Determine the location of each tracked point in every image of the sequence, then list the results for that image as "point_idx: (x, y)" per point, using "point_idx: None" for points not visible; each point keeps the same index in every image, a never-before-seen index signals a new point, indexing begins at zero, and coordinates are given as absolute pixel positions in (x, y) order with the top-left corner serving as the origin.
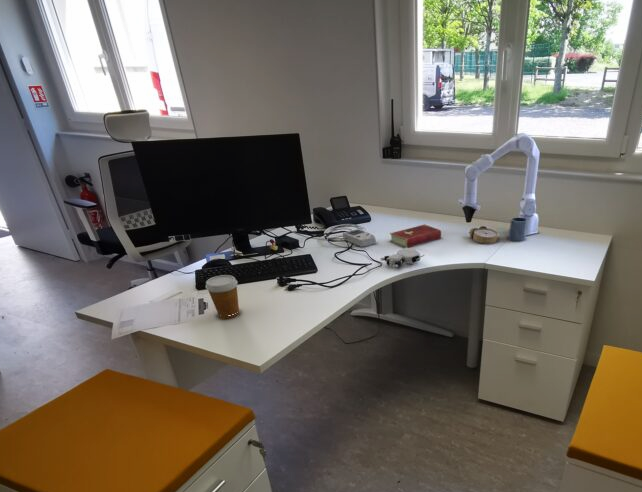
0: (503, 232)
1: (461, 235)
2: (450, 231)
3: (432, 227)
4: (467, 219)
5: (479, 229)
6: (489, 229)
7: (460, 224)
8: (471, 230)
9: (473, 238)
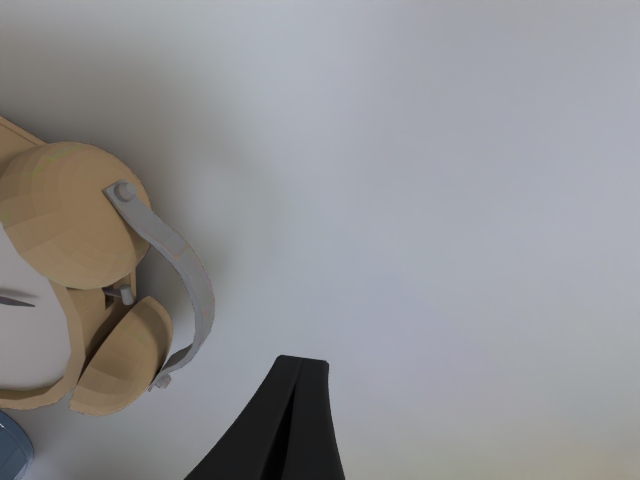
0: (153, 476)
1: (292, 144)
2: (549, 144)
3: None
4: (259, 392)
5: (71, 321)
6: (35, 394)
7: (627, 421)
8: (21, 188)
9: (23, 134)
